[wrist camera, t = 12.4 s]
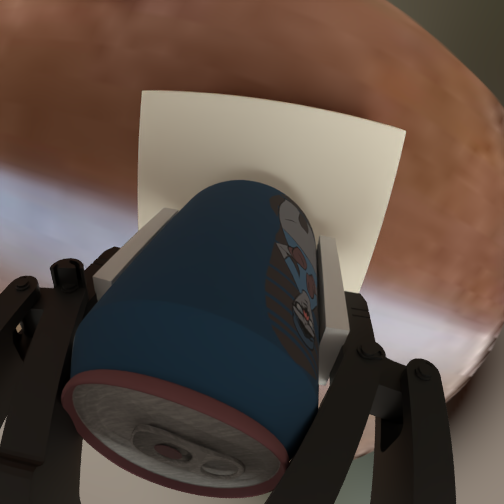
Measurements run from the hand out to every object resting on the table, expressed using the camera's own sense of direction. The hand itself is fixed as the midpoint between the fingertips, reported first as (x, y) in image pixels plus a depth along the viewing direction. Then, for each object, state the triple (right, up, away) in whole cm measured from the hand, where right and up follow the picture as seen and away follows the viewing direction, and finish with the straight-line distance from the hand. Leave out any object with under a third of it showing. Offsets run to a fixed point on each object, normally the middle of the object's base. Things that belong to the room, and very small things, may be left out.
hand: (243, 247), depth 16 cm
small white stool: (+2, +6, +11) cm, 12 cm away
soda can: (0, +1, +1) cm, 1 cm away
